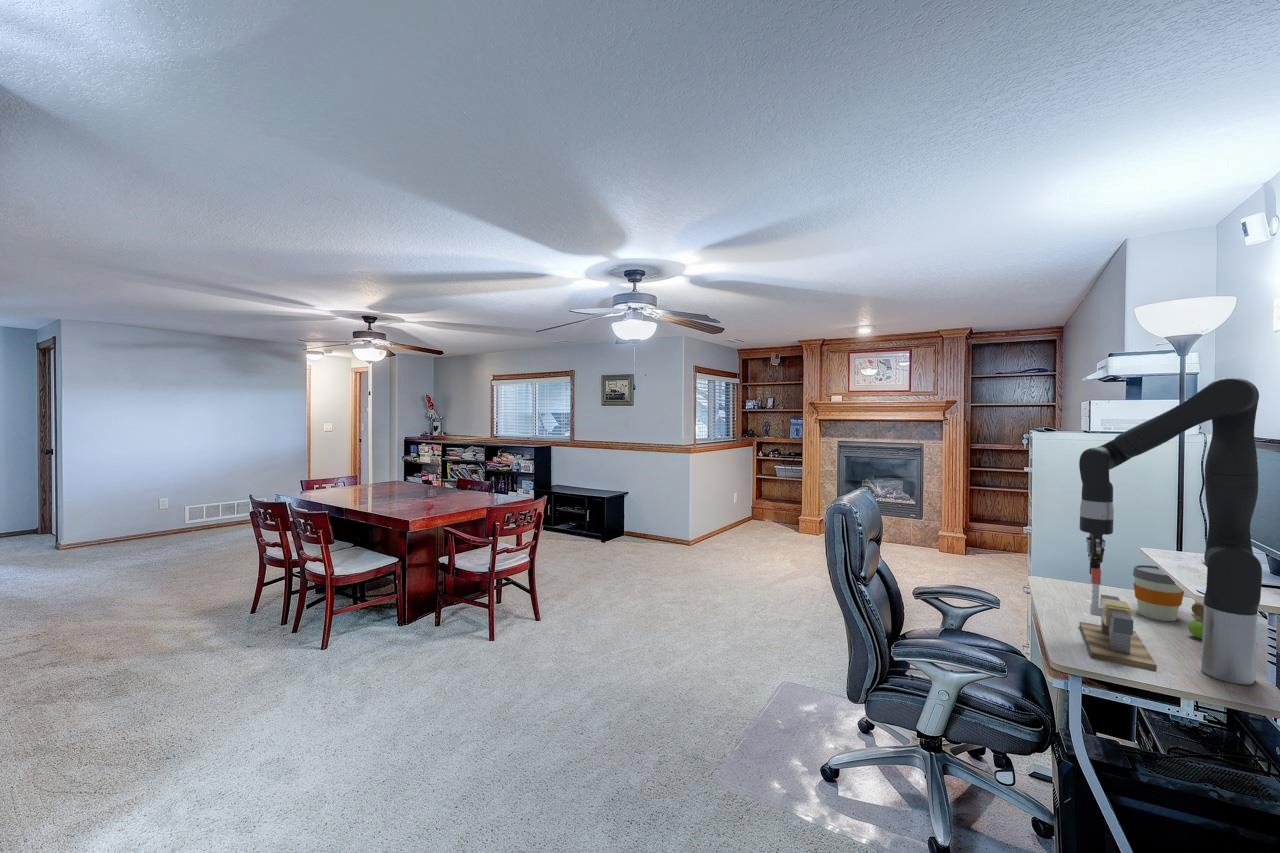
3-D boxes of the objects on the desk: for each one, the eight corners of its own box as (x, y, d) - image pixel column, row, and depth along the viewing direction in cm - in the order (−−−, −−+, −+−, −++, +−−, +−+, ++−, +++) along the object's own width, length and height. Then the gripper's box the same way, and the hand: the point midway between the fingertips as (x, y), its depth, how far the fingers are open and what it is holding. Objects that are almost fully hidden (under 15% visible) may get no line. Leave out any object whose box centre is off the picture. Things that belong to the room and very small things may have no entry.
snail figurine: (1210, 644, 158) (1212, 603, 158) (1183, 635, 164) (1185, 596, 164) (1223, 642, 160) (1225, 601, 159) (1195, 633, 166) (1197, 594, 166)
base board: (1079, 626, 171) (1079, 621, 171) (1135, 636, 164) (1135, 631, 164) (1091, 658, 149) (1091, 652, 149) (1156, 670, 142) (1156, 665, 142)
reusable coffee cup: (1187, 626, 172) (1189, 578, 171) (1133, 616, 179) (1135, 571, 179) (1180, 614, 182) (1182, 569, 181) (1129, 606, 189) (1131, 562, 189)
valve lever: (1089, 612, 160) (1091, 567, 160) (1101, 614, 159) (1103, 568, 158) (1090, 614, 158) (1092, 569, 158) (1102, 616, 157) (1104, 570, 156)
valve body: (1096, 626, 167) (1098, 590, 167) (1119, 630, 164) (1120, 593, 164) (1109, 653, 149) (1110, 613, 148) (1135, 658, 146) (1136, 617, 145)
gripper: (1117, 521, 153) (1115, 583, 153) (1109, 513, 164) (1107, 571, 164) (1082, 518, 157) (1080, 578, 157) (1077, 511, 168) (1075, 567, 169)
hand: (1094, 575), depth 161 cm, fingers closed
